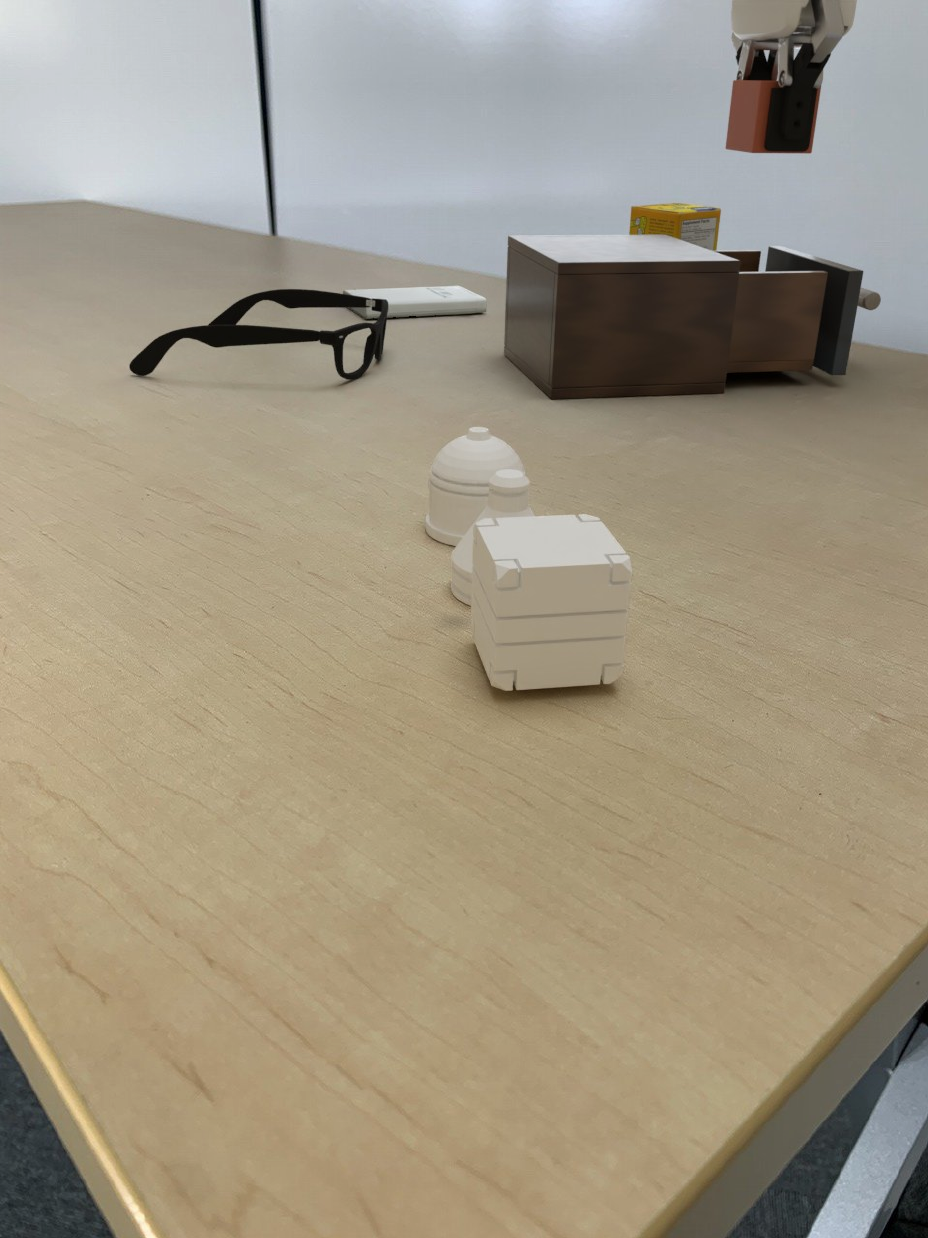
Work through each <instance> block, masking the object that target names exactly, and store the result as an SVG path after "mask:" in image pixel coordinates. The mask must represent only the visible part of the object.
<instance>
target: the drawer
mask: <svg viewBox="0 0 928 1238" xmlns="http://www.w3.org/2000/svg"><path fill="white" fill-rule="evenodd" d="M711 251H714V252H717V253H720V254H723V255H725V256H728V257H731V258H734V259H737V260H740V261H741V264H740V271H739V280H738V288H737V296H736V304H735V312H734V320H733V328H732V336H731V344H730V352H729V360H728V368H727V374H733V373H760V372H761V373H763V372H764V373H765V372H795V371H797V372H798V371H799V372H800V371H813V368H816V369H817V370H819V371H822V372H824V373H826V374H828V375H830V376H845V375H846V374H847V369H848V364H849V358H850V351H851V346H852V342H853V341H852V339H853V334H854V328H855V324H856V318H857V312H858V307H860V308H862V309H865V310H867V311H874V310H876V309H877V308H878V307H879V306H880V305H881V300H882V297H881V295H880V293H878V292H877V291H873V290H870V289H868V288H864V287H862V283H863V278H864V270H862V269H859V268H856V267H852V266H849V265H845V264H843V263H839V262H836V261H832V260H830V259H825V258H823V257H818V256H816V255H812V254H808V253H806V252H802V251H799V250H796V249H793V248H790V247H789V248H788V247H785V246H782V245H769V246H768V248H767V256H766V262H765V270H764V271H760V263H761V255H762V251H761V250H759V249H717V250H711Z"/></svg>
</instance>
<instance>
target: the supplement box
mask: <svg viewBox="0 0 928 1238" xmlns="http://www.w3.org/2000/svg"><path fill="white" fill-rule="evenodd" d="M721 215H722V208H721V207H716V206H707V205H698V204H691V203H683V202H670V203H669V202H668V203H657V204H656V203H655V204H644V205H632V206H630V219H629V232H628V235H668V236H671V237H674V238H677V239H680V240H683V241H685V242H688V243H691V244H694V245H697V246H700V247H703V248H705V249H708V250H718V239H719V232H720V231H719V230H720V223H721Z"/></svg>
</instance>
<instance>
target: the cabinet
mask: <svg viewBox="0 0 928 1238" xmlns="http://www.w3.org/2000/svg"><path fill="white" fill-rule="evenodd" d="M740 264H741V261H740V260H737V259H734V258H731V257H728V256H725V255H723V254H720V253H717V252H714V251H711V250H708V249H705V248H703V247H700V246H697V245H694V244H691V243H688V242H685V241H683V240H680V239H677V238H674V237H671V236H668V235H629V234H559V235H558V234H555V235H554V234H550V235H549V234H547V235H545V234H543V235H535V234H534V235H532V234H531V235H529V234H528V235H508V236H507V256H506V285H505V311H504V313H505V314H504V336H503V337H504V338H503V339H504V341H503V345H504V346H503V355H504V356H505V357H506V358H507V359H508V360H509V361H510V362H511V363H513V365H514V366H516V368H518V369H519V370H520V371H521V373H523V374H524V375H525V376H526V377H527V378H528V379H530V381H532V382H533V383H534V385H536V386H537V387H538V388H539V389H540V390H541V391H542V392H543V393H544V394H545V395H546V396H547V397H549V398H550V400H566V399H567V400H568V399H594V398H620V397H622V398H623V397H624V398H625V397H647V396H648V397H649V396H651V397H652V396H677V395H679V396H680V395H704V394H707V395H708V394H725V390H726V382H727V376H728V375H727V374H728V373H727V368H728V360H729V352H730V344H731V336H732V328H733V320H734V312H735V304H736V296H737V288H738V280H739V271H740Z"/></svg>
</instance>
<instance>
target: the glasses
mask: <svg viewBox="0 0 928 1238" xmlns="http://www.w3.org/2000/svg"><path fill="white" fill-rule="evenodd" d="M263 301H269V302H274V303H276V304H279V305H281V306H283V307H284V308H286V309H291V310H292V309H306V308H307V309H308V308H309V309H310V308H311V309H312V308H313V309H315V308H318V309H320V308H321V309H322V308H323V309H325V308H328V309H331V308H335V309H336V308H340V309H341V308H342V309H343V308H346V309H347V308H348V309H349V308H368V307H371V306H372V311H378V312H381V314H380V316H379V318H377V320H376V321H375V322H358V323H355V324H351V325H349V326H345V327H342V328H339V329H336V330H320V331H319V330H314V329H307V328H305V329H304V328H294V327H293V328H291V327H279V326H266V325H251V324H238V323H239V322H240V320H242V318H243V317H244V316H245V315H246V314H247V313H248V312H249V311H250V310H251V309H252V308H253V307H254V306H256V304H258V303H260V302H263ZM387 313H388V301H387V300H386V299H374V298H372V299H370V298H366V297H360V296H354V295H347V294H343V293H340V292H333V291H325V290H316V289H303V288H286V289H285V288H280V289H271V290H265V291H261V292H260V291H259V292H256V293H253V294H250V295H247V296H245V297H243V298H241V299H239V300H238V301H236V302H234V303H232V304H231V305H230V306H229V307H228V308H227V309H225V310H224V311H223V312H221V313H220V314H219V315H217V316H216V317H215V318H214V319H213V320H211V322H209V323H208V324H206V325H197V326H196V325H194V326H190V327H189V326H188V327H184V328H178V329H175V330H171V331H168V332H166V333H164V334H161V335H160V336H157V337H156V338H155V339H153V340H152V341H151V342H150V343H148V345H147V346H146V347H144V348H143V349H142V350H140V352H139V353H138V354H136V356H135V357H134V358H133V359H132V360H131V361H130V363H129V365H128V366H129V371H131V373H133V374H134V375H136V376H140V377H145V376H148V375H150V374H151V373H154V371H155V369H156V368H157V367H158V365H159V364H160V362H161V361H162V360H163V359H164V357H165V355H167V353H168V352H169V351H170V349H171V348H172V347H173V346H174V345H175V344H176V343H177V342H179V341H180V340H183V339H191V340H195V341H198V342H200V343H203V344H205V345H207V346H209V347H212V348H216V349H217V348H225V347H241V346H258V345H260V346H261V345H277V344H279V345H280V344H281V345H282V344H295V343H296V344H297V343H311V342H319V343H320V344H321V345H326V346H331V347H332V349H333V359H334V365H335V370H336V373H337V374H338V375H339V377H341V378H343V379H344V380H348V381H350V380H351V381H353V380H357V379H359V378H360V377H362V376H363V375H364V374H365V373H366V372H367V371H368V369H369V368H370V365H371V364H372V361H373V359H375V360H377V361H381V360H382V357H383V353H384V346H385V337H386V331H387V330H386V329H387V321H388V318H387ZM366 329H369V330H370V334H369V335H368V336H366V340H365V345H364V350H363V359H362V363H361V366H360V367H359V368H357V369H356V370H354V371H351V372H345V368H344V345H345V340H346V339H347V338H348V336H349V335H351V334H352V333H355V332H358V331H362V330H366Z"/></svg>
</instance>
